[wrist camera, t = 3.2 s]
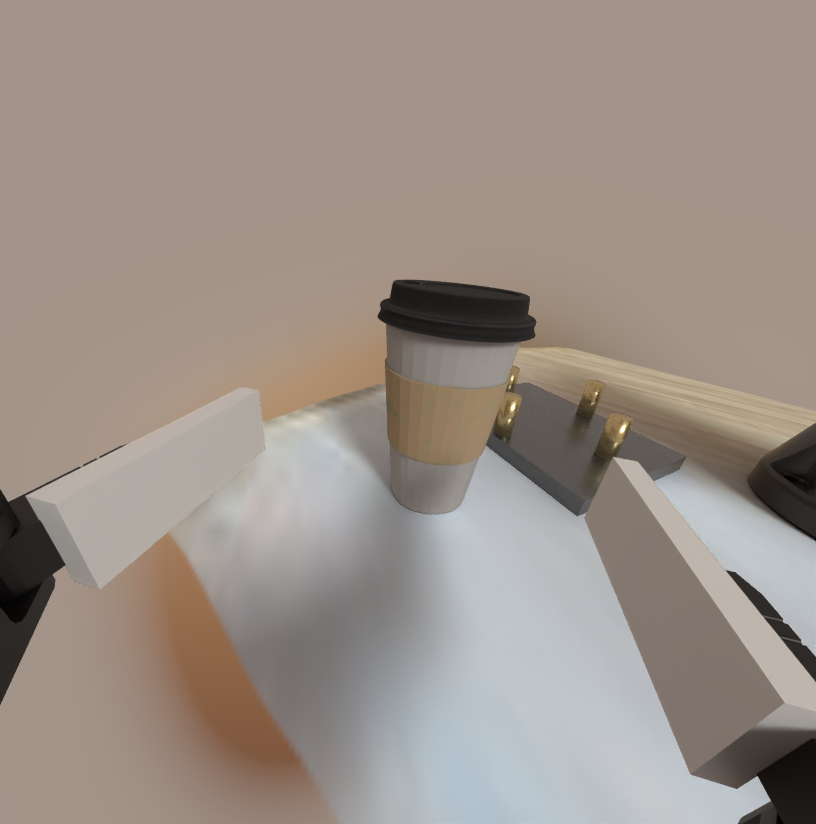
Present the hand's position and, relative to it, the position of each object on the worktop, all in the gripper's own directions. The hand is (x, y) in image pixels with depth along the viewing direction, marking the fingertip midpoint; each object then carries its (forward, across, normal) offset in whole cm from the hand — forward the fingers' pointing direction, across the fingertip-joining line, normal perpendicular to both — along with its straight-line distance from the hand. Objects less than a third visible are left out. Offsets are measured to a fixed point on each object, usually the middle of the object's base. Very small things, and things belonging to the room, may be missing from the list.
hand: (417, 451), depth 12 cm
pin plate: (+23, +11, -10) cm, 28 cm away
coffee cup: (+10, 0, -10) cm, 14 cm away
